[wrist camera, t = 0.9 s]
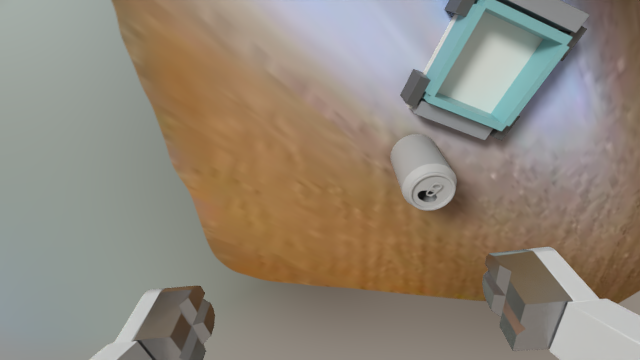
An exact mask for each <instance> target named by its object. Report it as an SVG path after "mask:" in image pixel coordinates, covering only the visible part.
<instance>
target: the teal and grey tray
mask: <svg viewBox="0 0 640 360" xmlns="http://www.w3.org/2000/svg"><path fill="white" fill-rule="evenodd" d="M445 10H446V11H448V12H451V13H453V14H454V16H453V18H452V20H451V21H450V23H449V25H448V27H447V29H446V31H445V33H444V34H443V36H442V38H441V40H440V42H439V44H438V46H437V47H436V49H435V51H434V53H433V55H432V57H431V59H430V60H429V62H428V64H427V66H426V68H425V70H424V72H423V73H422V72H420V71H417V70H415V69H413V71H412V73H411V75H410V77H409V79H408V81H407V83H406V85H405V87H404V89H403V91H402V93H401V97H402V98H403V100H404V101H405V103H406V105H407V107H408V108H410V109H412V111H413V112H414V114H417V115H419V116H422V117H425V118H427V119H430V120H432V121H435V122H438V123H440V124H443V125H446V126H448V127H451V128H453V129H456V130H459V131H461V132H464V133H467V134H469V135H472V136H474V137H477V138H480V139H482V140H485V139H486V138H487V137H488V135H489V134H490V135H491V136H492V137H494V138H497V139H499V140H502V139H503V138H504V137H505V136H506V134H507V133H508V132H509V130H510V129H511V128H512V126H513V125H514V124H515V122H516V121H517V120H518V119H519V117H520V116H518V115H519V113H520V112H521V111H522V109H523V108H524V107H525V105H526V104H527V103H528V101H529V100H530V99H531V98H532V96H533V95H534V94H535V92H536V91H537V90H538V88H539V87H540V86H541V84H542V83H543V82H544V80H545V79H546V78H547V76H548V75H549V74H550V73H551V71H552V70H553V69H554V67H555V66H556V65H557V63H558V62H559V61H563V60H564V58H565V57H566V56H567V55H568V53H569V52H570V51H571V49H572V48H573V47H574V45H575V44H576V43H577V41H578V40H579V39H580V38H581V36H582V35H583V34H584V32H585V31H586V30H587V29H586V28H584V27H582V24H583V23H584V22H585V20H586V19H587V18H588V16H589V14H587V13H585V12H583V11H581V10H579V9H577V8H575V7H573V6H571V5H569V4H567V3H565V2H563V1H561V0H449V2H448V4H447V6H446V8H445Z"/></svg>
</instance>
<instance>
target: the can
mask: <svg viewBox="0 0 640 360" xmlns="http://www.w3.org/2000/svg"><path fill="white" fill-rule="evenodd" d="M391 162H392V165H393V168H394V171H395V174H396V176H397V179H398V182H399V185H400V188H401V190H402V193H403V196H404V198H405V199H406V200H407V202H408V203H410V204H412V205H413V206H415V207H416V208H418V209H421V210H426V211H427V210H436V209H439V208H441V207H443V206H445V205H447V204H448V203H449V202H450V201H451V200H452V198H453V196H454V195H455V190H456V184H457V180H456V175H455V174H454V172H453V171H452V169H451V168H450V166H449V165H448V163H447V162H446V160H445V159H444V157H443V156H442V154H441V152H440V151H439V149H438V148H437V146H436V145H435V144H434V142H433V141H432V139H430V138H429V137H427V136H425V135H421V134H413V135H409V136H406V137H404V138H402V139H401V140H399V141H398V142H397V143H396V144H395V146H394V147H393V149H392V152H391Z"/></svg>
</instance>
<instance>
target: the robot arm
mask: <svg viewBox="0 0 640 360" xmlns="http://www.w3.org/2000/svg"><path fill="white" fill-rule="evenodd" d="M485 265H486V266H487V268H488V271H487V272H486V273H485V274H484V275H483V283H482V285H483V291H484V295H485V298H486V301H487V303H488V305H489V307H490V309H491V311H493V312H494V313H496V314H497V315H499V316H500V317H501V321H500V328H501V330H502V332H503V333H504V335H505V337H506V339H507V341H508V343H509V345H510V347H511V349H512V350H513V351H520V350H540V349H550V352H551V353H553V354H554V355H555V356H556V357H557V358H558V359H560V360H640V316H639V315H638V314H636V313H634V312H632V311H630V310H628V309H626V308H624V307H622V306H620V305H618V304H616V303H614V302H612V301H610V300H608V299H599V298H598V297H597V295H596V294H595V293H594V292H593V291H592V290H591V289H590V288H589V287H588V286H587V284H586V283H585V282H584V281H583V280H582V279H581V278H580V277H579V276H578V275H577V274H576V272H575V271H574V270H573V269H572V268H571V267H570V266H569V265H568V264H567V263H566V261H565V260H564V259H563V258H562V257H561V256H560V255H559V254H558V253H557V252H556V250H555V249H553V248H551V247H543V248H534V249H528V250H527V249H523V250H515V251H506V252H498V253H490V254H488V255H487V257H486V261H485ZM204 294H205V292H204V291H203V289H202V288H201V286H186V287H174V288H164V289H153V290H149V291H147V292H146V293H145V294H144V295H143V297H142V298H141V299H140V301H139V303H138V305H137V306H136V308H135V309H134V311H133V313H132V314H131V316H130V317H129V319H128V321H127V322H126V324H125V326H124V327H123V329H122V331H121V333H120V334H119V336H118V338H117V339H116V340H115V342H114V343H111V344H108V345H107V346H105V347H104V348H103V349H102V350H101V351H99V352H98V353H97V354H96V355H94V356H93V357H92V358H91V359H90V360H203V358H204V355H205V352H206V350H205V347H204V342H206V340H207V339H208V338H209V337H210V336H211V334H212V331H213V328H214V319H215V314H214V310H213V307H212V305H211V303H210V302H208V301H206V300H205V299H203V297H204Z"/></svg>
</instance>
